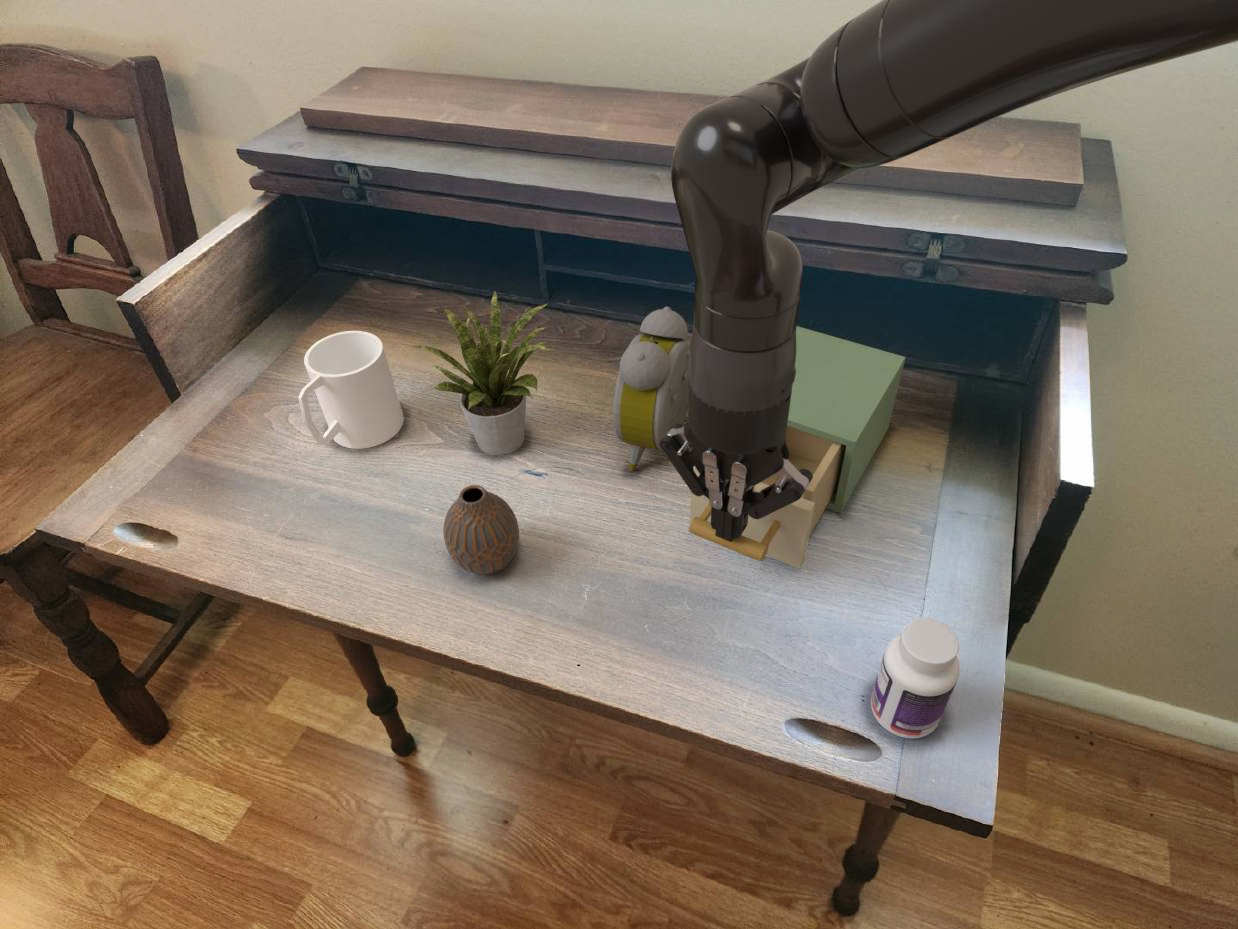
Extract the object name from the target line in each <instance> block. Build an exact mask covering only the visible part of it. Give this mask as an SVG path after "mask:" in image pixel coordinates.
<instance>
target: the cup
mask: <svg viewBox="0 0 1238 929" xmlns="http://www.w3.org/2000/svg"><path fill="white" fill-rule="evenodd" d="M303 364H304V367H305V369H306V373H307V374H308V377H309V380H310V381H309V382H308V383H307V384H306V385H304V387H303V388H301V390H300V392H299V395H298V397H297V399H298V403H299V407H300V412H301V416H302V420H303V425H304V426H305V428H306V429H307V431H308V432H309V434H310V435H311V437H312V439H313V440H314V441H315V443H316V444H320V445H325V446H328V444H329V443H330V442H331V441H332V440H333V441H334V442H335V443H336V444H338V445H339V446H341V447H344V448H348V449H355V450H361V449H369V448H374V447H376V446H377V447H378V446H381V445H382V444H384V443H387V442H388V441H389V440H391V439H392V438H393V437H395V436H396V435H397V434H398V433H399V432H400V431H401V429H402V427H403V425H404V419H405V418H404V414H403V409H402V406H401V403H400V400H399V397H398V393H397V389H396V386H395V383H394V379H393V376H392V372H391V369H390V365H389V362H388V360H387V355H386V352H385V347H384V345H383V342H382V340H381V339H380V338H379V337H378V336H377V335H375V334H374V333H371V332H368V331H362V330H346V331H340V332H339V331H338V332H335V333H333V334H332V333H331V334H329V335H327V336H324V337H323V338H321V339H319V340H318V341H316V342H314V344H312V345H311V346H310V347H309V348H308V349H307V351H306V352H305V355H304V358H303ZM310 392H314V393H315V395H316V398H317V401H318V403H319V406H320V410H321V412H322V414H323V417H324V420H325V421H326V425H327V427H328V428H327V430H326V431H325V433H323V434H322V433H321V432H320V430H319V428H318V427H317V426H316V424H315V422H314V421H313V418H312V412H311V408H310V404H309V399H308V398H309V397H308V394H309V393H310Z"/></svg>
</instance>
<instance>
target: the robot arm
mask: <svg viewBox="0 0 1238 929" xmlns="http://www.w3.org/2000/svg"><path fill="white" fill-rule="evenodd" d="M1237 42H1238V0H880V1H879V2H878V3H875V4H874V5H873V6H871V7H869V8H868V9H866V10H865V11H863V12H861V13H860V14H859V15H857V16H856V17H853V18H852V19H851V20H849V21H848V22H846V23H845V24H843V25H842V26H841V27H838V28H837V29H836V30H835V31H833V33H831V34H830V35H829V36H827V38H826V39H824V40H823V41H822V42H820V44H819V45H818V46H817V47H816V48H815V49H814V51H813V52H812V54H811V55H810V56H809V57H807V58H806V59H803V60H802V61H800V62H799V63H796V64H794V65H793V66H791V67H790V68H788V69H785V70H784V71H781V72H780V73H778V74H776V75H773V76H771V77H769V78H768V79H765V80H764V81H762V82H759V83H756V84H754V85H752V86H750V87H748V88H745V89H743V90H741V91H738V92H736V93H734V94H732V95H729V96H727V97H724V98H723V99H720V100H717V101H715V102H713V103H711V104H708V105H707V106H704V107H703V108H701V109H699V110H698V111H696V112H695V113H694V114H692V115H691V116H690V117H689V119H688V120H687V121H686V122H685V123H684V125H683V127H682V128H681V130H680V132H679V135H678V137H677V140H676V142H675V146H674V150H673V152H672V159H671V163H670V164H671V166H670V180H671V190H672V194H673V198H674V201H675V206H676V208H677V212H678V216H679V220H680V223H681V226H682V229H683V233H684V238H685V240H686V241H685V242H686V246H687V249H688V253H689V256H690V259H691V263H692V266H693V271H694V275H695V278H694V279H695V280H694V301H693V303H694V304H693V328H692V333H691V338H690V342H689V343H690V353H689V394H688V409H687V422H686V423H685V424H683V425H682V424H680V423H676V424H674V425H673V427H672V428H671V429H670V430H669V431H668V433H667V434H666V435H665V436H664V437H663V439H662V440H661V441H660V443H659V445H660V447H661V449H662V450H661V451H663V453H664V454H665V456H666V457H667V459H668V460H669V461H670V463H671V465H672V466H673V467H674V469H675V470H676V472H677V473H678V475H679V476H680V477H681V479H682V481H684V484H686V486H687V488H688V489H689V490H690V493H691V492H692V493H693V494H694V495H696V496H702V495H704V496H705V497H707V498H708V499H709V503H710V505H711V526H712V529H715V530H716V534H715V535H716V536H717V537H719V538H722V539H724V540H727V541H729V542H732V541H733V539H734V538H737V539H738V538H739V537H740V536H741V534H742V533H743V531H744V530H745V528H746V527H747V524H748V514H749V516H750V517H752V518H754V519H760V518H762V517H765V516H767V515H769V514H771V513H773V512H775V511H777V510H779V509H781V508H783V507H785V506H787V505H789V504H791V503H793V502H795V501H797V500H799V499H800V498H801V496H802V495H803V493H804V492H805V490H806V489H807V487H808V485H809V483H810V482H811V480H812V479H813V475H812V473H811V472H810V471H809V470H807V469H800V470H797V469H796V468H795V467H794V465H793V464H792V463H791V462H790V461H789V460H788V458H789V455H790V452H789V448H788V446H787V444H786V440H785V436H786V430H787V424H788V416H789V409H790V401H791V394H792V386H793V383H794V380H795V375H796V367H795V363H796V353H797V343H796V327H797V326H798V318H799V311H800V302H801V296H802V286H803V278H804V277H803V275H804V273H803V272H804V271H803V259H802V256H801V253H800V250H799V249H798V247H797V246H796V244H795V243H794V242H793V240H791V239H789V238H788V237H787V236H785V235H783V234H781V233H779V232H776V231H773V230H770V229H768V228H769V224H770V220H771V216H772V215H773V214H775V213H777V212H778V211H780V210H782V209H784V208H786V207H787V206H789V205H791V204H793V203H794V202H796V201H798V200H801V199H802V198H804V197H806V196H807V195H809V194H811V193H813V192H815V191H817V190H819V189H821V188H823V187H825V186H826V185H828V184H831V183H832V182H834V181H837V180H838V179H841V178H842V177H844V176H846V175H848V174H850V173H853V172H854V171H856V170H859V169H868V168H874V167H878V166H882V165H886V164H888V163H892V162H894V161H896V160H900V159H902V158H905V157H907V156H909V155H912V154H915V153H917V152H919V151H922V150H924V149H926V148H928V147H931V146H934V145H936V144H938V143H940V142H943V141H945V140H947V139H950V138H952V137H954V136H957V135H959V134H961V133H964V132H966V131H969V130H970V129H973V128H976V127H978V126H980V125H982V124H985V123H987V122H989V121H991V120H994V119H996V118H999V117H1001V116H1003V115H1007V114H1009V113H1011V112H1013V111H1017V110H1019V109H1021V108H1023V107H1026V106H1029V105H1033V104H1034V103H1037V102H1040V101H1043V100H1046V99H1048V98H1051V97H1054V96H1057V95H1059V94H1063V93H1065V92H1068V91H1071V90H1075V89H1077V88H1081V87H1083V86H1087V85H1090V84H1094V83H1096V82H1100V81H1102V80H1106V79H1108V78H1111V77H1115V76H1118V75H1122V74H1125V73H1129V72H1132V71H1136V70H1139V69H1142V68H1146V67H1149V66H1153V65H1156V64H1160V63H1164V62H1167V61H1168V62H1169V61H1171V60H1175V59H1178V58H1183V57H1185V56H1189V55H1194V54H1196V53H1199V52H1203V51H1208V50H1211V49H1214V48H1218V47H1222V46H1225V45H1230V44H1232V43H1237ZM694 466H695V468H696V469H697V471H698V472H699V473H700V475H699V476H697V475H696V473H695V472H694V470H693V467H694ZM775 473H777V474H778V478H777V479H776V481H775V483H774V484H772V485H770V486H768V487H766V488H764V489H763V490H761V491H760V492H754V489H755V485H757V484H759V483H760V482H762V481H763V480H765V479H767V478H768V477H770V476H772V475H773V474H775Z"/></svg>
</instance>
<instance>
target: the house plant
mask: <svg viewBox="0 0 1238 929" xmlns="http://www.w3.org/2000/svg"><path fill="white" fill-rule="evenodd" d="M490 301H491V302H490V309H489V310H490V314H489V335H488V329H487V326H485V328H484V327H483V325H482V323H481V321H480V320H479V319H478V318H477V316H475V315H474V313H473V312H472V311H471V310H470V309H469V308H468V307H466V306H464V305H462V307H463V309H464V310H465V312H466V313H467V315H468V316H467V319H466V321H465V323H463V321H462V320H460V319H459V318H458V317H457V316H456V315H455V314H454V312H452V311H450V310H448V309H447V308H445V307H443V310H444V312H445V314H446V317H447V319H448V322H449V323H450V325H451V328H452V329H453V332H454V334H455V335H456V337H457V339H458V342H459V344H460V349H461V353H462V357H463V361H464V363H465V365H466V367H467V368H465V367H464V366H463V365H462V364H461V363H460V362H459V361H458V360H456V359H455V357H453V356H451V355H450V354H448V353H447V352H445V351H443V350H441V349H439V348H436V347H431V346H427V345H421V344H418V345H411V347H412V348H416V349H421V350H423V351H427V352H429V353H431V354H434V355H435V356H437V357H439V358H441V359H443V360H444V361H446V362H448V363H449V364H450V365H452V366H453V367H452V369H454V370H458V371H459V372H461V373H462V374H463V375H465V376H466V377H467V378H468V379H470V381H472V382H471V383H470V382H469V381H467V380H466V379H464V378H463V377H461V376H459V375H457V374H455V373H453V372H452V371H450V370H448V369H447V368H444V367H443V366H439V365H435V364H433V365H432V366H433V367H435V369H436V370H438V371H440V372H441V373H442V374H443V375H444V376H445V377H446V378H447V379H448V380H450V381H451V382H450V381H442V382H440V383H438V384H436V385H435V386H433V387H432V388H431V390H434V389H435V390H438V391H441V392H447V393H456V394H460V396H459V406H460V407H461V410H462V412H463V415H464V417H465V419H466V422H467V424H468V425H469V427H470V430H471V433H472V434H473V436H474V440H475V442H476V443H477V446H478V448H479V449H480V450H481V451H482V452H483V453H485V454H486V455H487V454H488V455H490V456H503V455H509V454H512V453H514V452H516V451H517V450H519V448H521V446H522V445H523V443H524V442H525V435H526V434H525V431H526V412H527V397H530V398H531V399H534V397H533V396H532V394H531V392H530V388H533V389H534V390H536V393H537V392H538V378H537V377H536V375H534V374H533V373H527V374H523V375H520V376H518V374H519V372H520V370H521V369H522V367H523V366H524V365H525V363H526V361H527V360H529V358H530V356H531V355H532V354H533V353H534V352H535V351H536V350H539V351H540V350H541V351H553V349H552V348H550V347H547V346H544V344H545V343H547V342H548V341H549V340H548V339H547V340H544V341H541V342H537V343H535V344H529V343H530V342H531V341H532V340H533V339H534V337H535V336H536V335H537V334H538V333H540V332H541V331H543V330H545V329H546V328H548V327H549V326H548V325H546V326H542V327H539V328H538V327H537V328H536V329H534V330H533V331H531V332H530V333H529V334H528V335H527V336H526V337H524V339H523V341H522V342H521V343H520V345H519V346H516V347H514V348H513V349H512V347H513V344H514V342H515V341H516V339H517V338H518V335H519V334H520V332H521V331H522V329H523V328H524V326H526V324H527V323H528V322H529V321H530V319H531V318H532V316H534V315H535V314H536V313H537V312H538V311H540V310H542V309H543V308H545V307H546V306H547V305H548V304H550V302H547V303H544V304H541V305H539V306H536V307H534V308H532V309H529V310H528V311H527V312H525V313H524V314H523V315H522V316H521V317H520V318H519V319H518V320H517V321H516V322H515V323H514V325H513V326H512V328H511V330H510V332H509V333H508V336H507V338H506V339H505V338H503V339H502V340H501V331H502V314H501V309H500V307H499V306H500V305H499V303H498V302H499V301H498V295H497V292H496V290H494V291H493V294H492V297H491V300H490ZM470 321H472V323H473V324H474V326H475V327H474V326H473V325H472V323H470ZM469 326H470V327H471V328H472V330H473V331H474V333H475V334H476V336H477V339H478V340H479V343H478V344H476V341H475V339H474V337H473V335H472V333H471V331H470V329H469ZM502 344H504V346H503V347H502ZM528 344H529V345H528ZM502 348H503V350H502ZM511 349H512V350H511ZM520 356H521V357H520ZM517 376H518V377H517ZM528 387H529V388H528Z"/></svg>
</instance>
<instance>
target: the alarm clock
mask: <svg viewBox="0 0 1238 929" xmlns="http://www.w3.org/2000/svg"><path fill="white" fill-rule="evenodd" d="M639 331H640V332H641V333H639V334H638V335H636V336H634V337H633V339H632V340H631V342H630V343H629V344H628V347H627V348H626V349H625V351H623V354H622V356H621V357H620V361H619V370H618V374H617V378H616V383H615V389H614V395H613V401H612V422H613V430H614V433H615V435H616V437H617V438H618V439H619V440H620V441H621V442H623V443H625V444H627V445H630V447H629V461H628V470H629V471H632V472H635V471H636V469H637V467H638V465H639V462H640V460H641V458H642V457H643V454H644V452H645V450H646V449H650V450H655V451H663V450H662V449H661V447H660V445H659V443H660V441H661V440H662V439H663V437H664V436H665V435H666V434H667V433H668V431H669V430H670V429H671V428H672V427H673V425H674V424H676V423H680V424H682V425H683V426H684V423H685V419H686V416H687V414H688V394H689V353H690V343H691V342H689V341H688V340H687V338H688V336H689V329H688V325H687V323H686V320H685V319H684V318H683V316H682V315H680V314H679V313H678V312H676V311H674V310H672V308H671V307H669V306H664V307H663V308H661V309H655V310H653V311H651V312H649V313H648V315H646V317H645V318H644V319H643V320H642V322H641V324H640V328H639Z"/></svg>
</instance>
